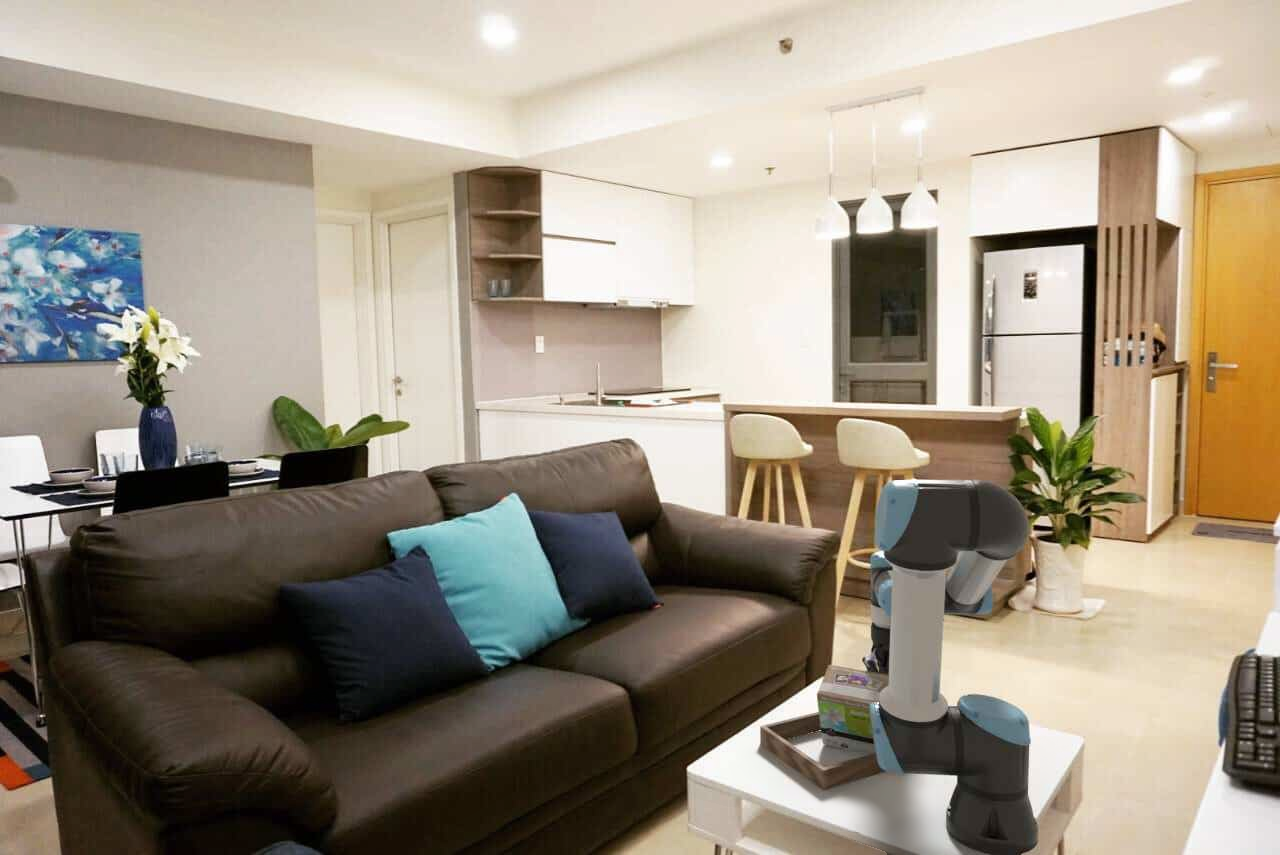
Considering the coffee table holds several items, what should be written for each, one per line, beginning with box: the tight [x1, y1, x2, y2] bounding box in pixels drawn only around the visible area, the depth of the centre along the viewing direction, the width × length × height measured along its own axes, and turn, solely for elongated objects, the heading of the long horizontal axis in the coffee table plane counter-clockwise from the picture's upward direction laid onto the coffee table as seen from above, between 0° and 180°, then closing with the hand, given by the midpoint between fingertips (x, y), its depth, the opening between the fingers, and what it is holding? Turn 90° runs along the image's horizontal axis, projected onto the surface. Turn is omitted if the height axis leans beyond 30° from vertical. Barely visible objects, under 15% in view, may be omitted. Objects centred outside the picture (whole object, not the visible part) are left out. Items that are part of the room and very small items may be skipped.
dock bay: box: [759, 711, 887, 791], centre depth 182 cm, size 22×22×4 cm
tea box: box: [816, 664, 889, 755], centre depth 183 cm, size 15×10×15 cm, turn 62°
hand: (889, 726), depth 189 cm, fingers closed
